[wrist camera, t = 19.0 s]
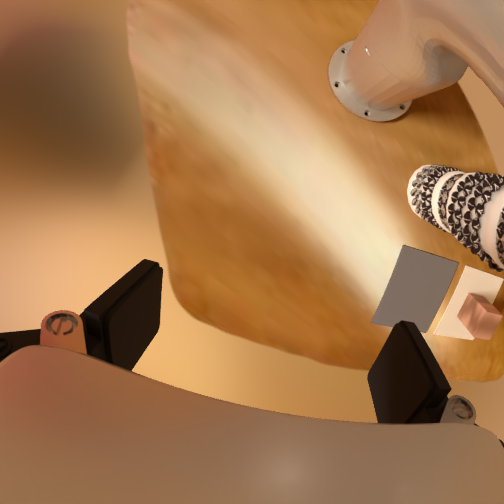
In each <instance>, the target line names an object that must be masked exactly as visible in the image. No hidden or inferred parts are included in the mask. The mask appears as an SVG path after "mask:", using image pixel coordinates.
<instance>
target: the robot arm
mask: <svg viewBox="0 0 504 504" xmlns="http://www.w3.org/2000/svg"><path fill="white" fill-rule="evenodd" d="M342 51H343V52H344V53H342ZM468 66H469V67H470V68H471V69H472V70H473V71H474V72H475V74H476V75H477V76H478V77H479V78H480V79H482V80H483V81H484V83H485V84H486V85H487V86H488V87H489V89H490V90H491V91H492V92H493V94H494V95H495V96H496V98H497V99H498V100H499V101H500V103H501V104H502V105H503V107H504V0H379V2H378V4H377V6H376V7H375V9H374V11H373V12H372V14H371V16H370V17H369V19H368V21H367V22H366V24H365V25H364V27H363V29H362V30H361V32H360V34H359V35H358V37H357V39H356V40H352V41H349V42H347V43H345V44H343V45H342V46H340V47H339V48H338V49H337V50H336V51H335V53H334V54H333V56H332V58H331V60H330V63H329V68H328V78H329V82H330V86H331V88H332V91H333V93H334V95H335V96H336V98H337V99H338V101H339V102H340V103H341V104H342V105H343V106H344V107H345V108H346V109H347V110H349V111H350V112H351V113H353V114H355V115H356V116H358V117H360V118H363V119H365V120H369V121H374V122H384V121H389V120H393V119H396V118H397V117H399V116H401V115H402V114H404V113H405V112H406V111H407V110H408V108H409V107H410V105H411V103H412V100H414V99H416V98H419V97H422V96H425V95H427V94H430V93H433V92H436V91H439V90H441V89H444V88H447V87H449V86H451V85H453V84H455V83H456V82H457V81H458V80H459V79H460V78H461V77H462V76H463V75H464V72H465V71H466V69H467V67H468ZM335 84H337V85H338V87H335ZM399 106H400V107H401V109H400V107H399ZM365 112H366V113H367V116H366V115H365ZM162 277H163V269H162V267H159V263H158V262H154V261H151V260H147V259H144V260H142V261H141V262H140V263H139V264H137V265H136V266H135V267H134V268H132V269H131V270H130V271H129V272H128V273H126V274H125V275H124V276H123V277H122V278H121V279H119V280H118V281H117V282H116V283H115V284H113V285H112V286H111V287H110V288H109V289H107V290H106V291H105V292H104V293H103V294H102V295H100V296H99V297H98V298H97V299H96V300H95V301H93V302H92V303H91V304H90V305H89V306H88V307H87V308H86V309H85V310H84V312H82V313H81V314H80V315H78V314H76V313H74V312H71V311H67V310H66V311H65V310H60V311H55V312H52V313H50V314H48V315H47V316H45V318H44V319H43V320H42V323H41V329H36V330H26V331H16V332H5V333H0V504H504V443H503V442H502V441H501V440H500V439H498V438H497V436H496V435H495V434H494V433H492V432H491V431H489V430H487V429H485V428H482V427H480V426H478V425H477V424H475V419H476V411H475V408H474V407H473V405H472V404H471V402H470V401H469V400H467V399H466V398H464V397H462V396H459V395H454V396H451V397H450V398H449V399H448V397H447V395H448V393H449V392H450V391H451V387H450V385H449V383H448V381H447V379H446V377H445V375H444V374H443V372H442V370H441V368H440V366H439V364H438V362H437V361H436V359H435V357H434V355H433V353H432V352H431V350H430V348H429V346H428V345H427V343H426V341H425V339H424V338H423V336H422V334H421V333H420V331H419V329H418V328H417V326H416V324H415V323H414V322H409V321H404V320H401V321H400V322H399V323H396V324H395V325H394V327H393V329H392V331H391V333H390V335H389V337H388V339H387V341H386V342H385V344H384V346H383V348H382V350H381V352H380V353H379V355H378V357H377V359H376V360H375V362H374V364H373V365H372V367H371V369H370V371H369V373H368V378H367V379H368V383H369V387H370V391H371V395H372V399H373V404H374V408H375V412H376V416H377V421H378V423H365V422H349V421H339V420H329V419H320V418H312V417H305V416H298V415H291V414H285V413H279V412H274V411H269V410H263V409H258V408H254V407H249V406H244V405H240V404H235V403H231V402H227V401H223V400H219V399H215V398H212V397H208V396H204V395H201V394H197V393H193V392H190V391H187V390H184V389H181V388H177V387H174V386H171V385H168V384H165V383H162V382H159V381H156V380H154V379H151V378H148V377H145V376H143V375H140V374H137V373H135V372H132V369H133V368H134V366H135V365H136V363H137V362H138V360H139V359H140V357H141V356H142V354H143V353H144V351H145V349H146V348H147V347H148V345H149V344H150V342H151V341H152V340H153V338H154V336H155V335H156V334H157V332H158V330H159V325H160V309H161V291H162Z"/></svg>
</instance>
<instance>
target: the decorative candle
mask: <svg viewBox="0 0 504 504" xmlns="http://www.w3.org/2000/svg"><path fill="white" fill-rule="evenodd" d="M407 195H408V202H409V204H410V206H411V208H412V210H413V212H414V213H416V214H417V215H418V216H419V217H420V218H421V219H423V220H424V219H425V221H426V222H429V223H431V224H432V225H433V226H436V227H437V228H438V229H442V230H443V231H444V232H449V233H452V235H453V236H454V237H455V238H456V239H457V240H458V241H459V242H461V243H463V245H464V247H465V248H471V252H472V253H473V254H474V255H476V254H477V255H478V256H479V257H480V259H481V261H486V260H487V262H488V263H489V267H490V269H492V270H494V269H496V271H498V272H501V271H503V270H504V177H502V176H501V175H498V174H497V175H496V174H489V173H485V174H482V173H481V172H473V173H465V172H461V171H460V170H459V169H458V168H455V169H454V168H451V167H449V168H448V167H446V166H440V165H432V164H431V165H424V166H422V167H420V168H419V169H417V170H416V171H415V172H414V173H413V175H412V176H411V178H410V180H409V184H408V189H407ZM494 261H495V263H496V264H494V263H493V262H494Z"/></svg>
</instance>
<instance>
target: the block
mask: <svg viewBox="0 0 504 504" xmlns="http://www.w3.org/2000/svg"><path fill="white" fill-rule="evenodd" d="M502 316H503V315H502V314H501V313H500V312H499V311H498V310H497V309H496V308H495V307H494V306H493V305H492V304H491V303H490V302H489V301H488V300H487V299H486V298H485V297H482V296H479V295H475V294H471V293H468V295H467V297H466V299H465V301H464V303H463V305H462V307H461V309H460V311H459V313H458V315H457V317H458V318H459V320H460V321H461V322H462V323H463V325H464V326H465V327H466V328H467V330H468V331H469V332H470V334H471V335H472V336H473V337H474V338H481V339H487V340H490V338H491V336H492V335H493V333H494V331H495V329H496V328H497V326H498V324H499V322H500V320H501V318H502Z"/></svg>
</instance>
